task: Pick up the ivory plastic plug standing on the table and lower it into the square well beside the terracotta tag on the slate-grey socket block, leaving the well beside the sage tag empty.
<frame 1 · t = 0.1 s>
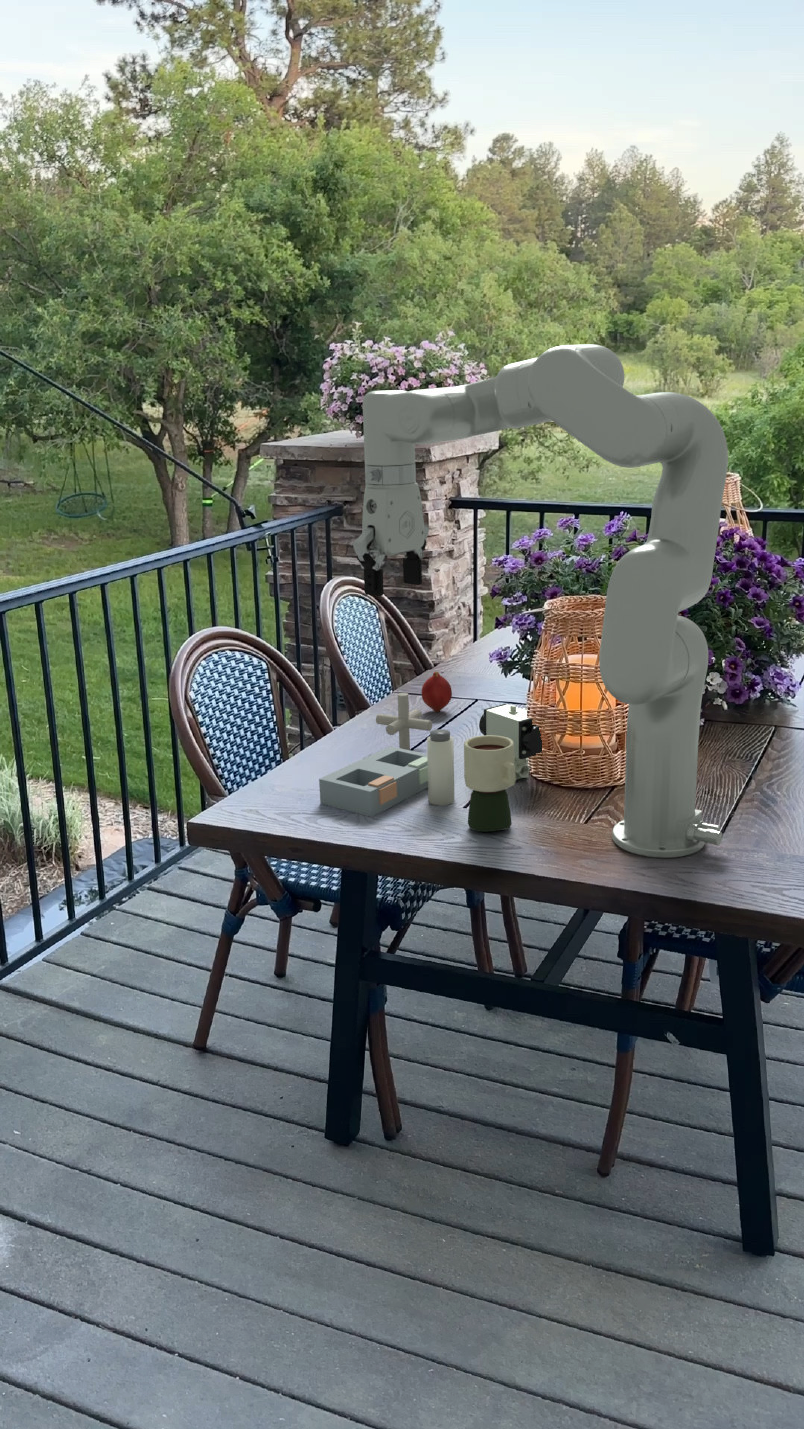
hand: (393, 589, 179), 31 cm above the table, tool pointing down, fingers open, 9 cm apart
socket block: (382, 791, 183), on the table
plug: (441, 800, 179), on the table
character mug: (489, 829, 168), on the table
pneumatic valve: (515, 777, 188), on the table
onion: (437, 712, 222), on the table
pipe connector: (404, 750, 202), on the table
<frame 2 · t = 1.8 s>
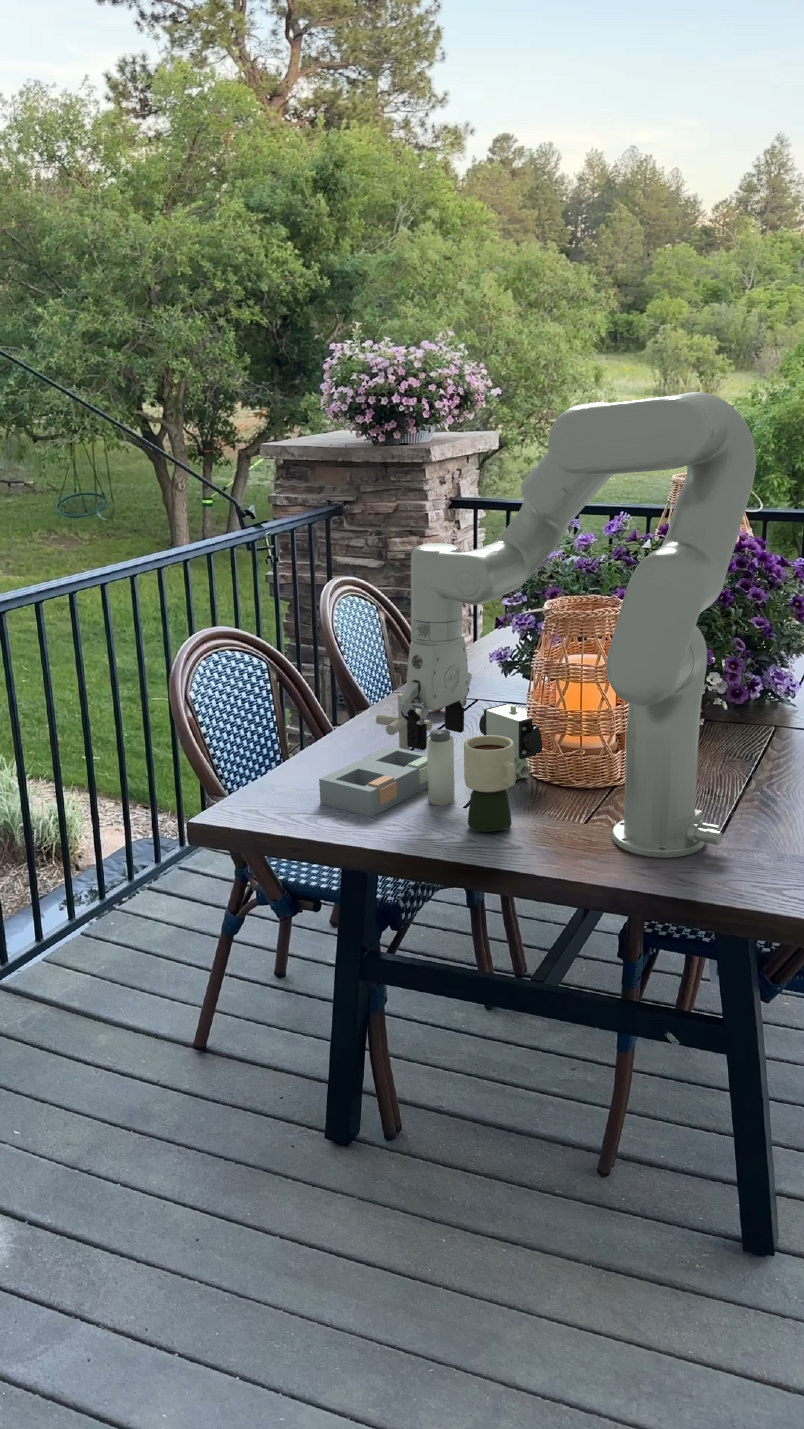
hand: (436, 739, 176), 10 cm above the table, tool pointing down, fingers open, 9 cm apart
nothing on the table moved.
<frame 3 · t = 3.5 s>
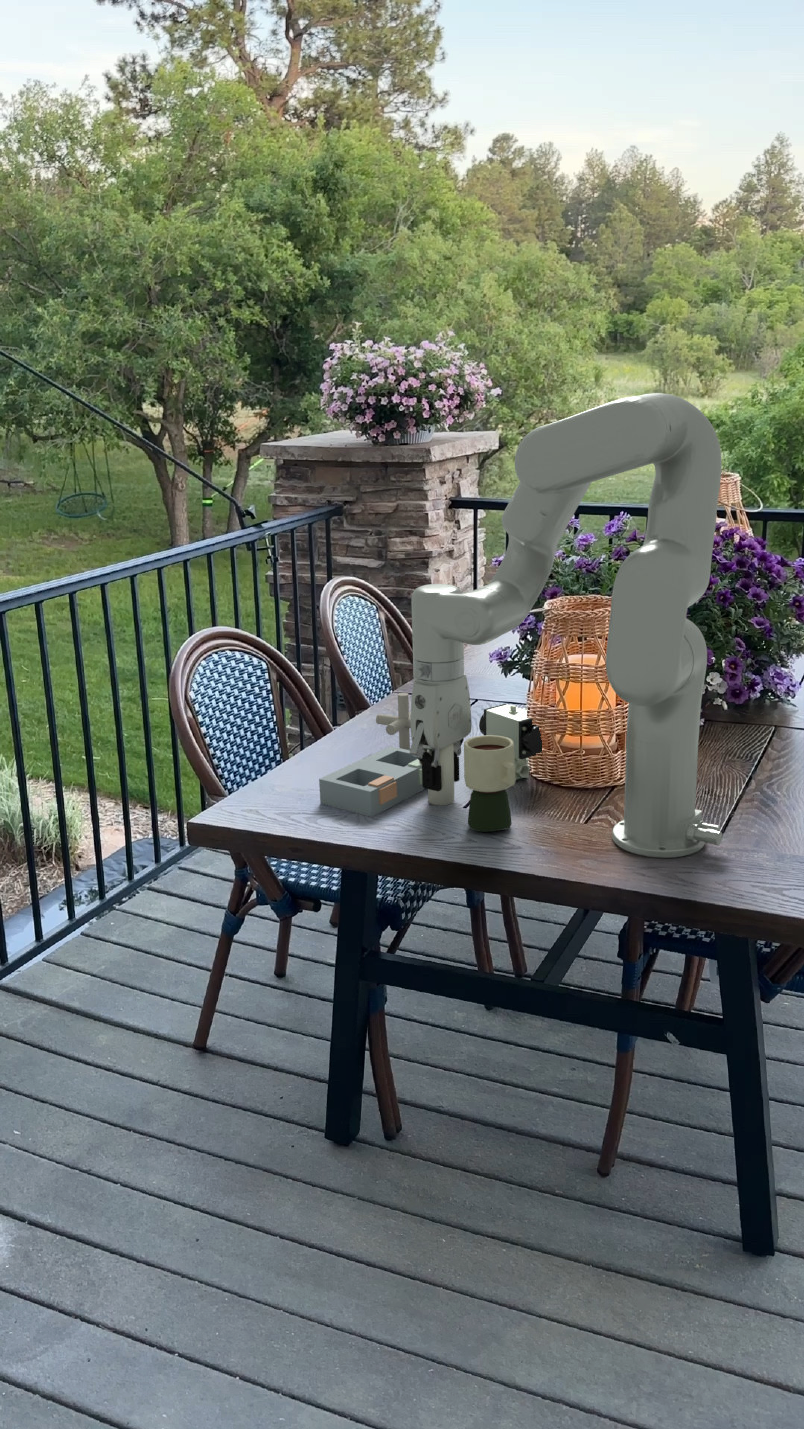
hand: (441, 783, 178), 3 cm above the table, tool pointing down, fingers closed on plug, 4 cm apart
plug: (441, 800, 179), on the table, touching gripper
everything else where it was.
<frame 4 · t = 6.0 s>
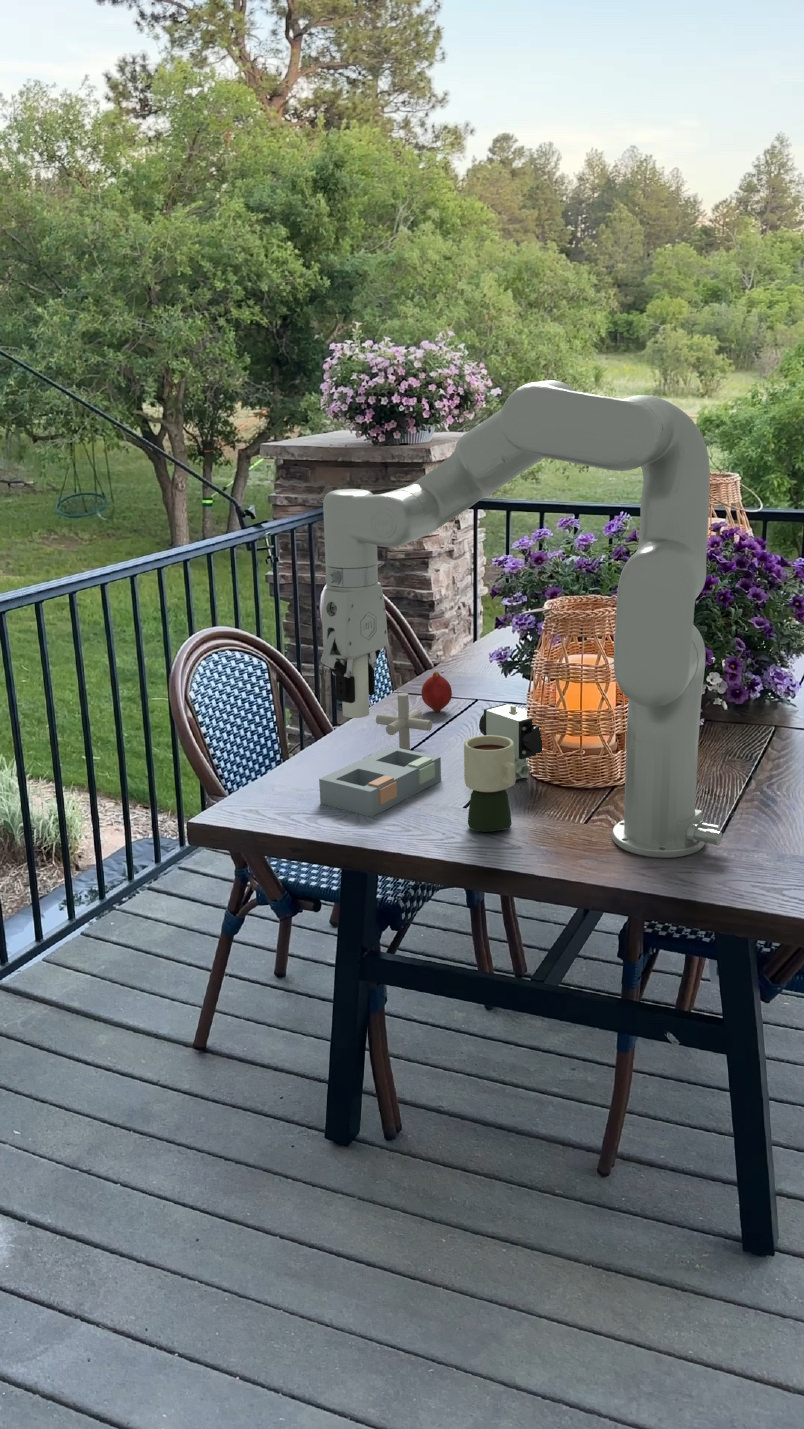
hand: (355, 696, 174), 17 cm above the table, tool pointing down, fingers closed on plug, 4 cm apart
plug: (356, 713, 175), point 14 cm above the table, touching gripper
everything else where it was.
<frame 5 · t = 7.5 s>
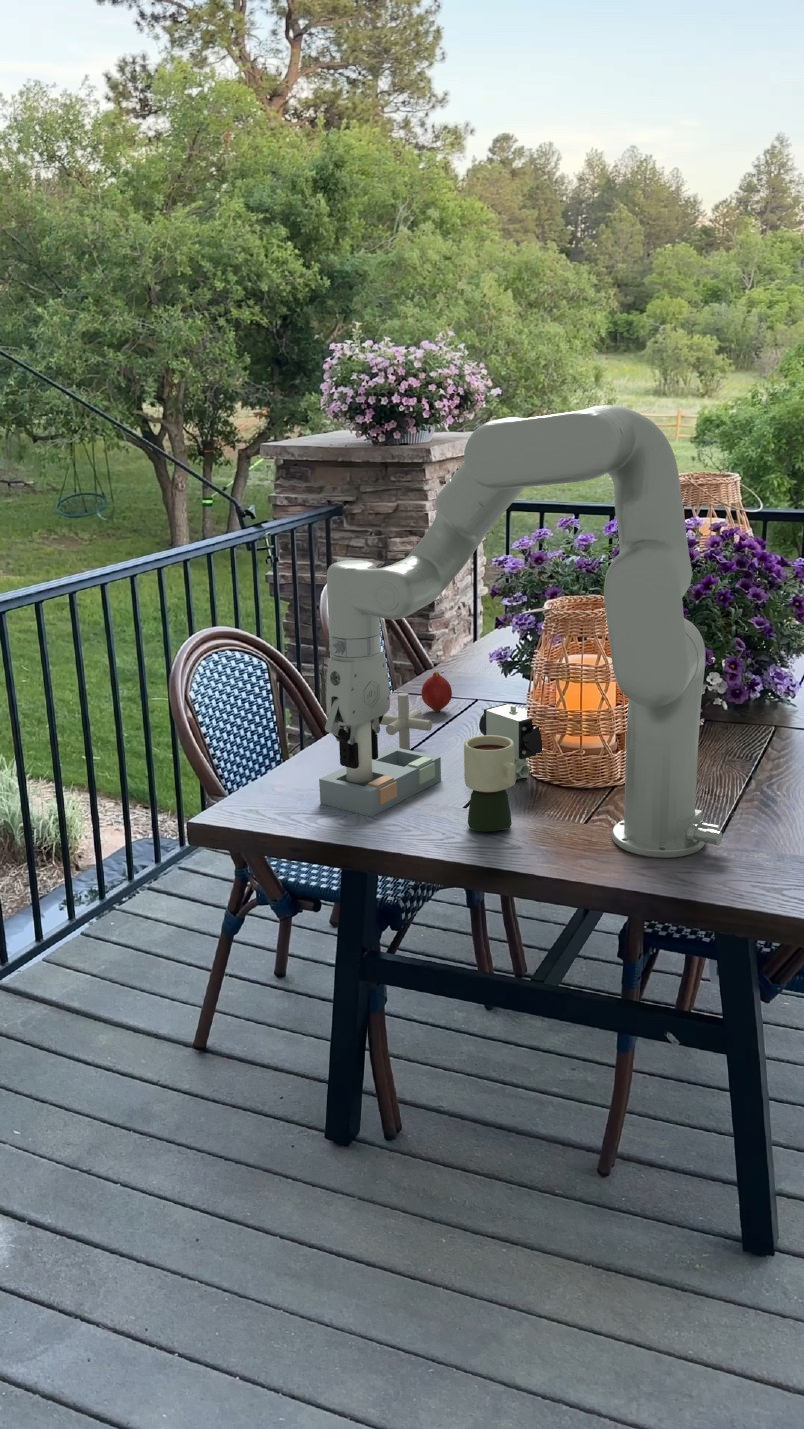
hand: (359, 761, 177), 7 cm above the table, tool pointing down, fingers closed on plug, 4 cm apart
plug: (359, 778, 178), point 4 cm above the table, touching gripper
everything else where it was.
when the fingers open (4 cm above the table, at t = 8.6 s): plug drops 2 cm, resting in socket block.
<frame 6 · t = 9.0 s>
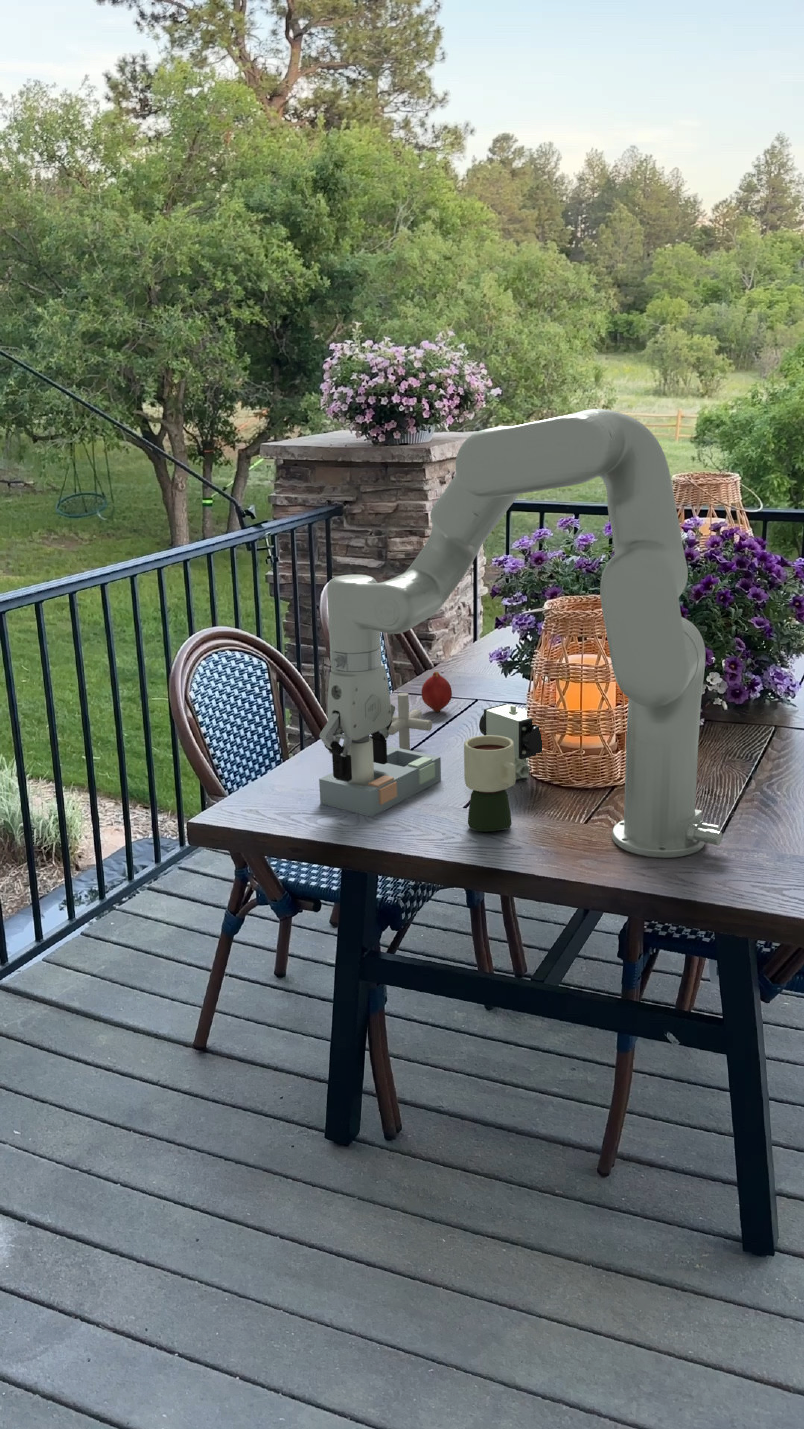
hand: (360, 770, 178), 5 cm above the table, tool pointing down, fingers open, 8 cm apart
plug: (362, 801, 179), resting in socket block
everything else where it was.
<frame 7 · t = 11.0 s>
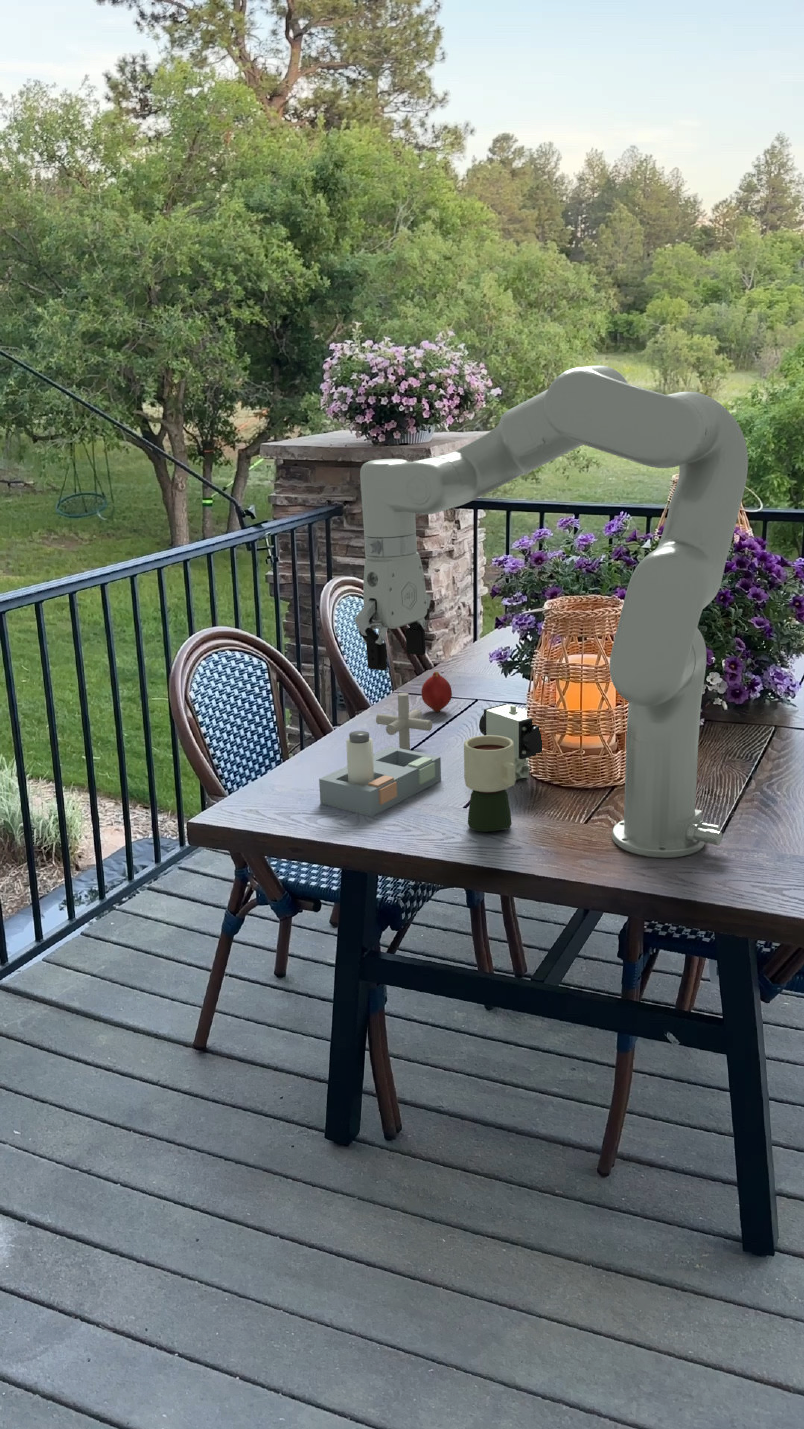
hand: (397, 661, 173), 22 cm above the table, tool pointing down, fingers open, 9 cm apart
nothing on the table moved.
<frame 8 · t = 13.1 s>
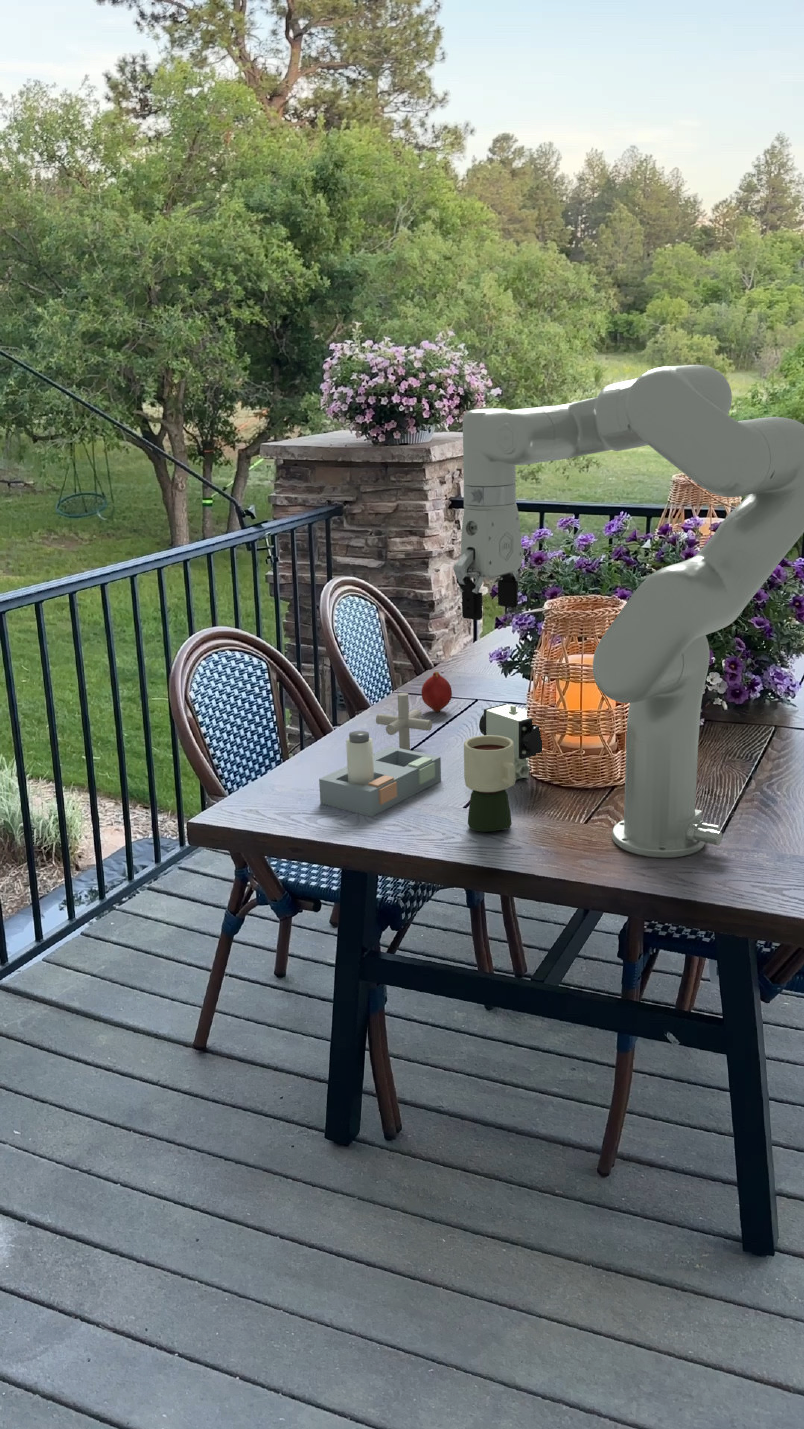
hand: (490, 612, 174), 28 cm above the table, tool pointing down, fingers open, 9 cm apart
nothing on the table moved.
at the end: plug 0.0 cm from the target spot on the socket block, point 0.0 cm above the socket block's base; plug tilted 0°; the gripper is holding nothing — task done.
